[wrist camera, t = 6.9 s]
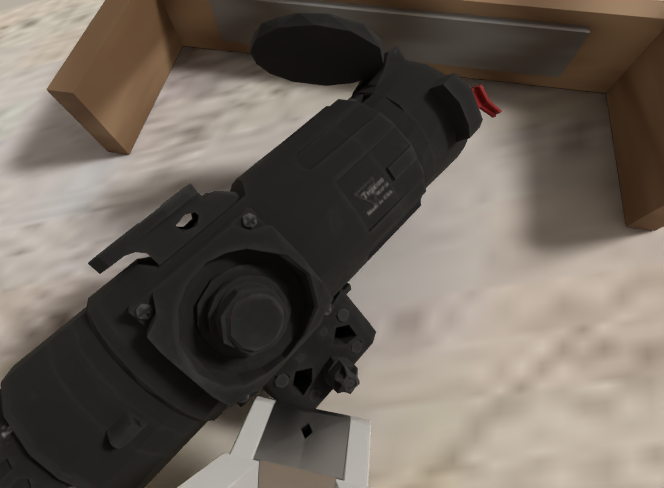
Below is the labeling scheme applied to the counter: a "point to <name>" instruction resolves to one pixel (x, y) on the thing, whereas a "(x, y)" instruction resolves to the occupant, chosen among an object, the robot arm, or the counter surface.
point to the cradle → (415, 45)
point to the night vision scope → (241, 272)
